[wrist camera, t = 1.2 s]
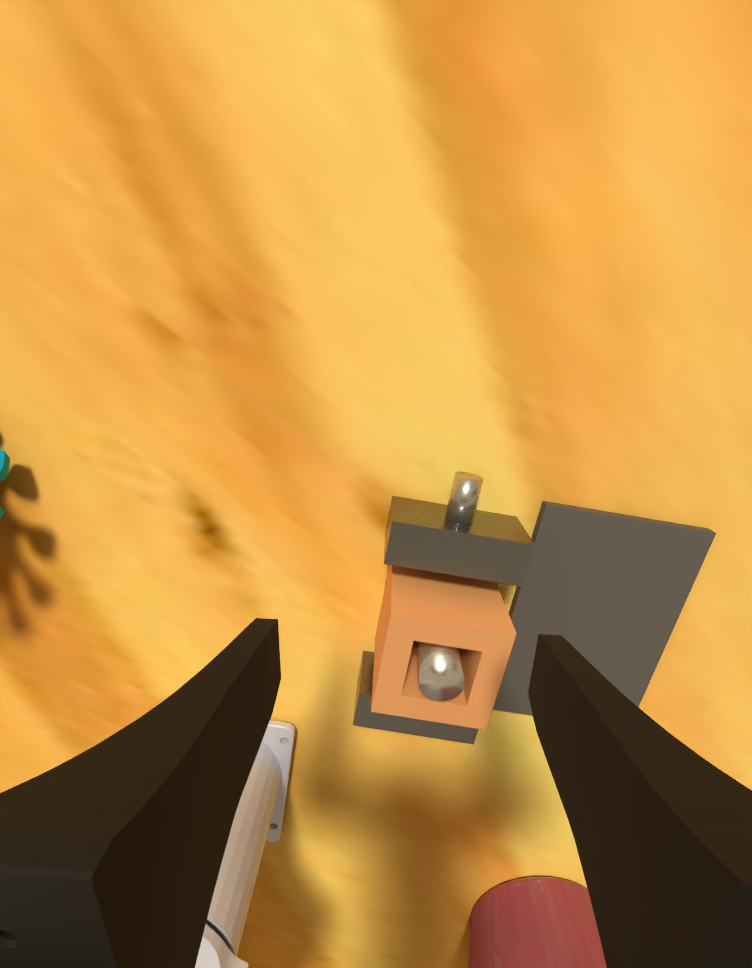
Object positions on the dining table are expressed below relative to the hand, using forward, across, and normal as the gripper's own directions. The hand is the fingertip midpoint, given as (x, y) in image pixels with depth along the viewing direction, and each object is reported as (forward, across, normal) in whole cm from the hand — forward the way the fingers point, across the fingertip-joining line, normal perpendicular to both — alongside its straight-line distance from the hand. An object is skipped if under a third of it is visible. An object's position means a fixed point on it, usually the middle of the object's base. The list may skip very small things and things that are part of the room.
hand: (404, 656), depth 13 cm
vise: (+10, -2, +5) cm, 11 cm away
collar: (+10, -2, +5) cm, 11 cm away
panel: (+10, -10, +6) cm, 15 cm away
